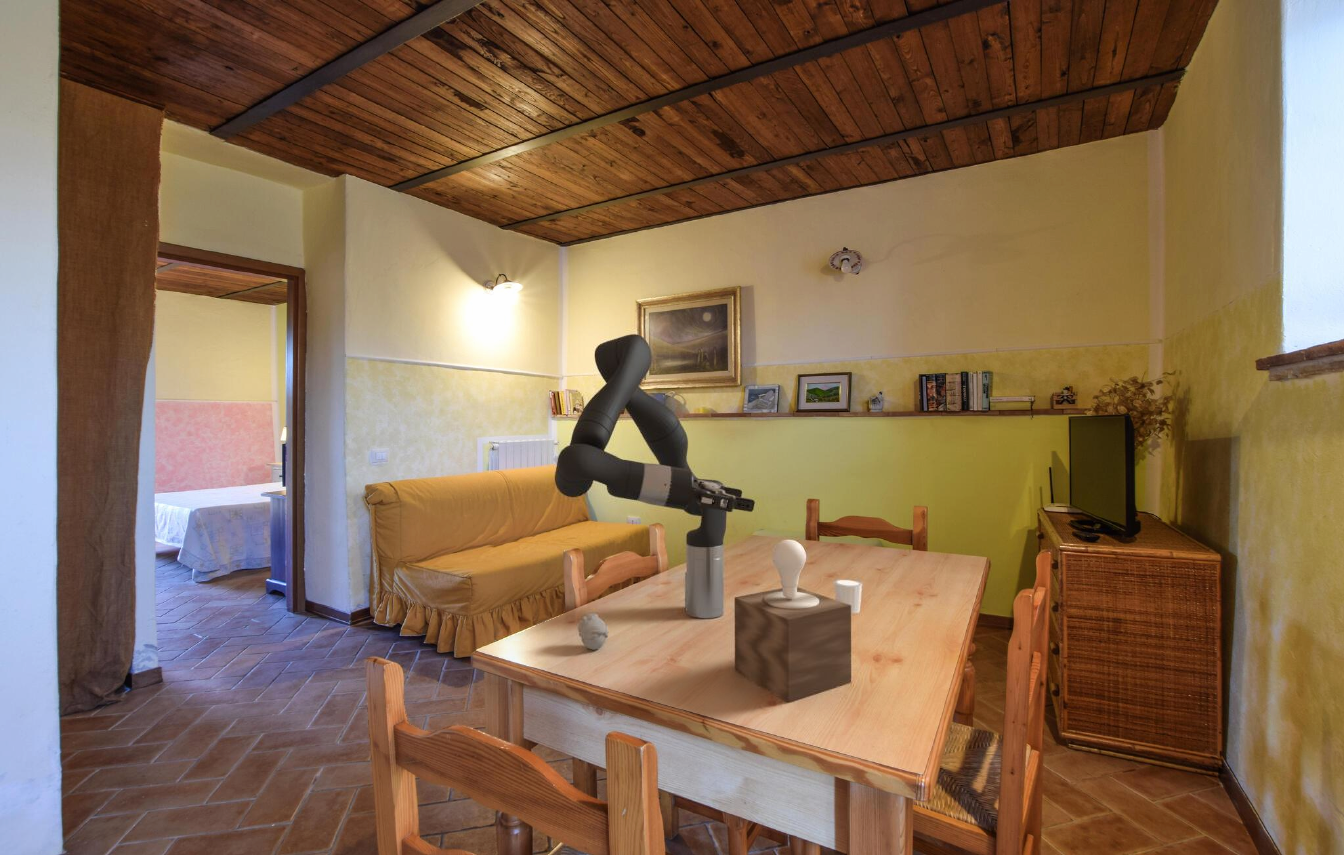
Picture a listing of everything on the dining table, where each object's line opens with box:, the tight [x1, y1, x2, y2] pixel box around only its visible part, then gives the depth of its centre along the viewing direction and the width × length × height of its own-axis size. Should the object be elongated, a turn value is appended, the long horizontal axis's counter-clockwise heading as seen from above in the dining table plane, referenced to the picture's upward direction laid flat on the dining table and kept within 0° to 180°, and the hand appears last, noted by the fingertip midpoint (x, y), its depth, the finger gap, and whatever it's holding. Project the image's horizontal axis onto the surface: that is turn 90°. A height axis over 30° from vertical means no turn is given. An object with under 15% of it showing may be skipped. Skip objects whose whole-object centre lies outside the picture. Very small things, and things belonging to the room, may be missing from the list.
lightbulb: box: [772, 539, 807, 599], centre depth 109 cm, size 6×6×11 cm
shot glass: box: [833, 579, 863, 615], centre depth 148 cm, size 7×7×7 cm
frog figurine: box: [577, 613, 609, 651], centre depth 123 cm, size 6×7×7 cm
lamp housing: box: [734, 586, 852, 704], centre depth 109 cm, size 15×15×14 cm
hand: (746, 500), depth 111 cm, fingers open, 8 cm apart
